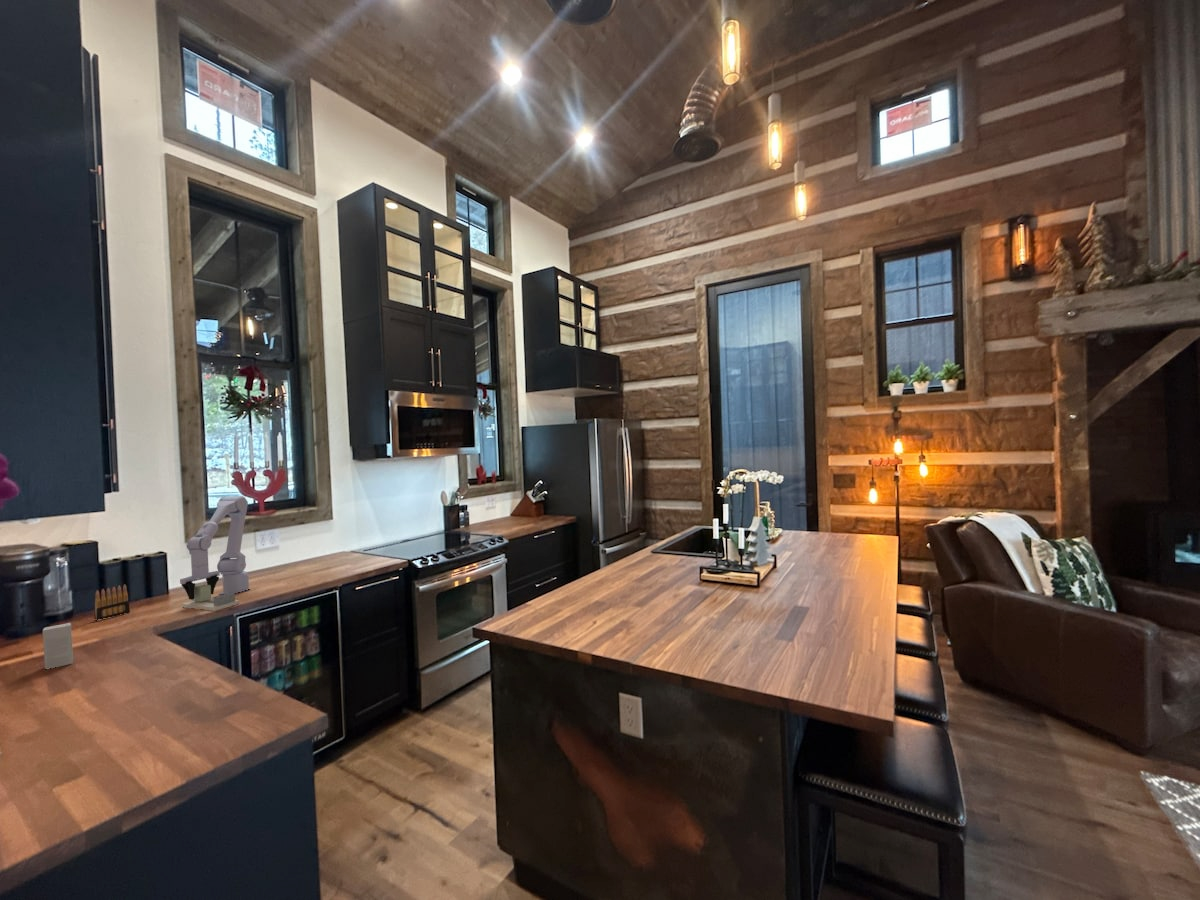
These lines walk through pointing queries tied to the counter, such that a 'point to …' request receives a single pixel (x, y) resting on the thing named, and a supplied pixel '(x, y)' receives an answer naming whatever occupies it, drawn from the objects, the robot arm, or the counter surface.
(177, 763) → the counter surface
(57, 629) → the skincare box
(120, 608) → the ammunition clip
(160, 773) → the counter surface
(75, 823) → the counter surface
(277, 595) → the counter surface
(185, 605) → the track board
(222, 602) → the end stop
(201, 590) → the keeper
